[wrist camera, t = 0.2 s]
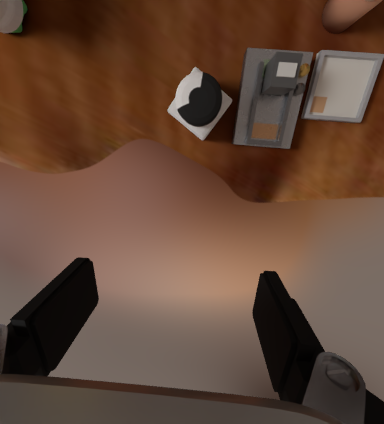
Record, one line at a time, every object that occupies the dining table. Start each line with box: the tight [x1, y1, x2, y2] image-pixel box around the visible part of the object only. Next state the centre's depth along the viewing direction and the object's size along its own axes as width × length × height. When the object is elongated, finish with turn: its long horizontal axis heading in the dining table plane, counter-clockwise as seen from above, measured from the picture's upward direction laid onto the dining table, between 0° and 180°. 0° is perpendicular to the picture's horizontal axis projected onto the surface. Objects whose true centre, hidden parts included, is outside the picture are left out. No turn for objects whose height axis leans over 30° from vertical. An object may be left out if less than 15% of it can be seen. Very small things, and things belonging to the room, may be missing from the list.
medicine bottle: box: [168, 67, 232, 140], centre depth 30 cm, size 7×7×12 cm
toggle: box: [261, 52, 303, 95], centre depth 28 cm, size 4×4×5 cm
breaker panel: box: [232, 48, 313, 149], centre depth 32 cm, size 14×10×4 cm
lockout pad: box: [301, 50, 384, 123], centre depth 32 cm, size 10×10×1 cm
